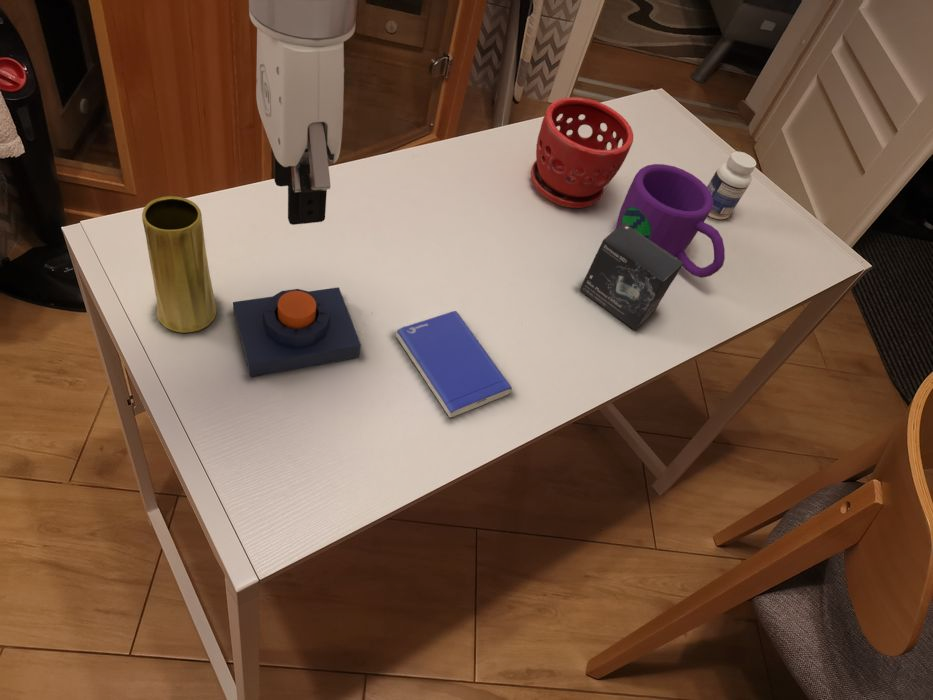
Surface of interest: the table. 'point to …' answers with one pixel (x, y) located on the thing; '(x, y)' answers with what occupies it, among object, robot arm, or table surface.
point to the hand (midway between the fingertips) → (299, 200)
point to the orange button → (296, 309)
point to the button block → (295, 334)
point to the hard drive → (453, 363)
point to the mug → (672, 213)
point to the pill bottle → (730, 184)
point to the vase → (179, 264)
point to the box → (630, 275)
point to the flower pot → (578, 152)
